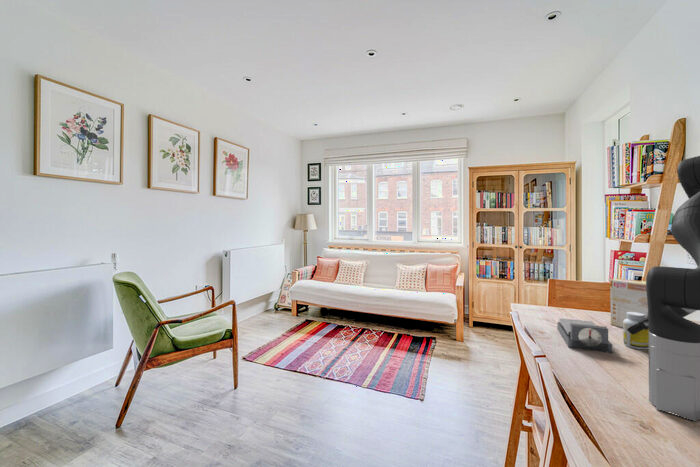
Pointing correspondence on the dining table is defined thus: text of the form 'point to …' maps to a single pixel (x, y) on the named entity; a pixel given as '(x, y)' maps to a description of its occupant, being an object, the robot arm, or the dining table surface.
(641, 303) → the coffeecake box
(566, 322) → the pan
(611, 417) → the dining table surface
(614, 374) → the dining table surface
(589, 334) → the kitchen scale
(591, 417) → the dining table surface
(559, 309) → the dining table surface
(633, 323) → the pill bottle
